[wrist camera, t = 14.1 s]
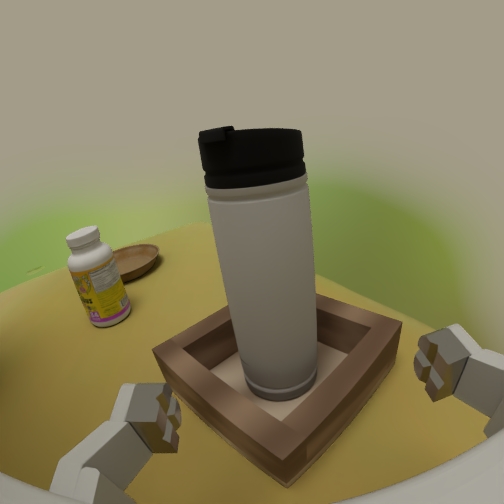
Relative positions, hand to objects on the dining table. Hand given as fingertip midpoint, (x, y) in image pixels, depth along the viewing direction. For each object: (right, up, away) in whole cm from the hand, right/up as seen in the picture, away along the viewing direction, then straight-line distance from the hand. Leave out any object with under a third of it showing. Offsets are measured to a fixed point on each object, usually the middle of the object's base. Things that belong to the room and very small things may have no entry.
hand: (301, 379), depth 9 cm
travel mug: (+1, -7, +16) cm, 17 cm away
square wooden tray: (+1, -8, +16) cm, 18 cm away
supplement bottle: (-22, -5, +31) cm, 38 cm away
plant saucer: (-25, 0, +45) cm, 52 cm away
